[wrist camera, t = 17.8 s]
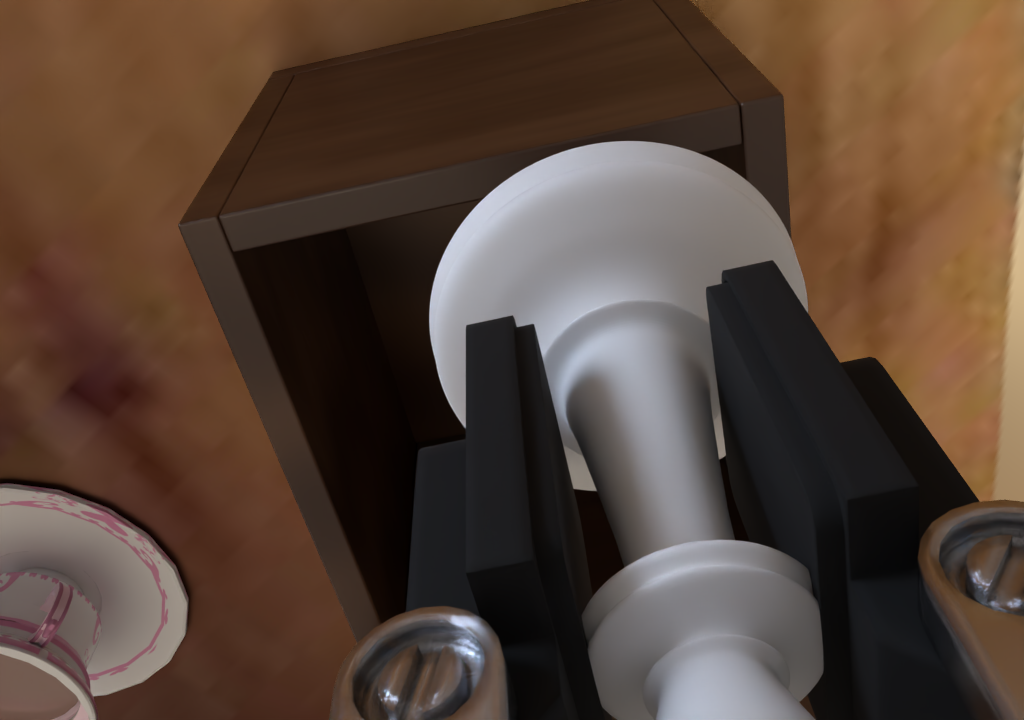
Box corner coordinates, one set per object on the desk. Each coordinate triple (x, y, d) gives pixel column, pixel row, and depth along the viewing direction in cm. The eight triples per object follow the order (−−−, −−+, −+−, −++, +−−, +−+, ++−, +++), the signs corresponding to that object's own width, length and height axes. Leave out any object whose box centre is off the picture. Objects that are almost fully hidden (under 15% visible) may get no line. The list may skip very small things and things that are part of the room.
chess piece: (404, 158, 11) (222, 1268, 3) (814, 120, 11) (1853, 1130, 3) (452, 480, 14) (428, 1574, 5) (786, 449, 14) (1292, 1502, 5)
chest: (272, 71, 29) (175, 225, 19) (672, -19, 28) (784, 94, 18) (400, 450, 36) (379, 695, 27) (717, 388, 36) (812, 619, 26)
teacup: (108, 723, 44) (60, 853, 39) (-160, 612, 39) (-255, 742, 34) (245, 570, 39) (212, 694, 34) (-41, 426, 35) (-130, 542, 30)
